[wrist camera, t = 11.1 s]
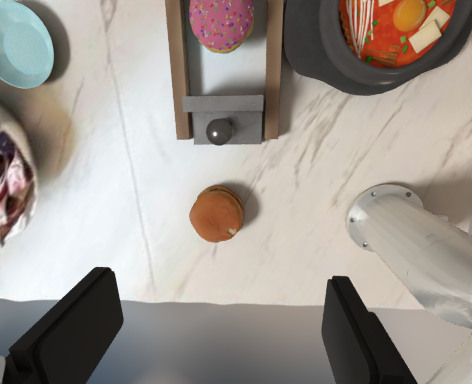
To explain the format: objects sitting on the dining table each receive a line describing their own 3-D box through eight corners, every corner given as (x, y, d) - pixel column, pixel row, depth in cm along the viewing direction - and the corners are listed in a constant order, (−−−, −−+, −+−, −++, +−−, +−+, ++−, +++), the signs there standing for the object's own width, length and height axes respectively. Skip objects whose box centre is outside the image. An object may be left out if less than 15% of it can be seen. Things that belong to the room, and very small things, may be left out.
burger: (201, 178, 43) (195, 186, 38) (251, 194, 43) (250, 203, 39) (188, 226, 46) (181, 238, 42) (235, 240, 46) (232, 254, 42)
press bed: (283, -46, 32) (290, -84, 26) (276, 137, 39) (280, 141, 33) (167, -38, 33) (147, -73, 27) (181, 138, 41) (168, 142, 35)
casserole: (280, 102, 38) (286, 98, 30) (279, -46, 32) (287, -98, 24) (450, 90, 36) (506, 83, 28) (482, -70, 30) (564, -137, 22)
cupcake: (187, 10, 35) (154, -41, 24) (240, -21, 33) (232, -92, 22) (212, 69, 37) (193, 49, 26) (263, 43, 35) (267, 9, 24)
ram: (262, 98, 38) (264, 92, 28) (261, 143, 40) (263, 152, 30) (193, 99, 38) (171, 93, 29) (195, 143, 40) (177, 152, 31)
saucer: (58, 9, 36) (46, 2, 34) (68, 92, 40) (58, 91, 38) (-15, 3, 37) (-32, -3, 35) (1, 86, 41) (-13, 85, 38)
